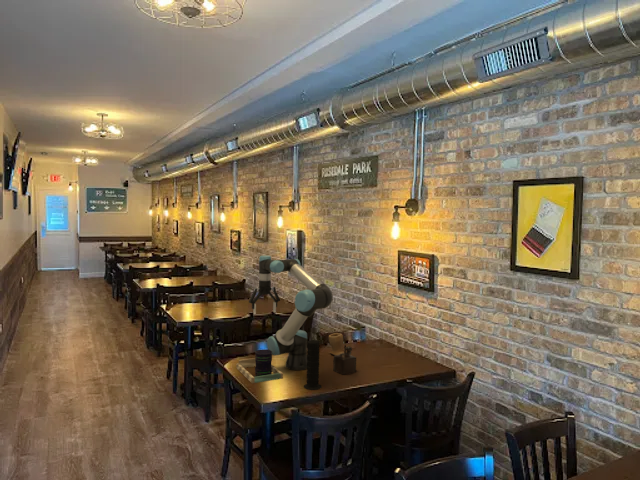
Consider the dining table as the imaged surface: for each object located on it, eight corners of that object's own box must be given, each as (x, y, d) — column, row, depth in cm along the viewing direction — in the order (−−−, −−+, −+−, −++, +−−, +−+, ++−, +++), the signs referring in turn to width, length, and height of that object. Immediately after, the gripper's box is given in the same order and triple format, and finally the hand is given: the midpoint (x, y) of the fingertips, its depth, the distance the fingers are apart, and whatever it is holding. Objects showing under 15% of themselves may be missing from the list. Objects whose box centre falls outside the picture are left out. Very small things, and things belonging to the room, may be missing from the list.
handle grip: (320, 383, 269) (303, 383, 268) (321, 337, 268) (303, 337, 267) (322, 390, 259) (304, 390, 258) (323, 342, 258) (304, 342, 257)
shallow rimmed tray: (236, 368, 293) (236, 360, 293) (265, 364, 302) (265, 356, 302) (252, 383, 268) (252, 374, 267) (283, 378, 276) (283, 370, 276)
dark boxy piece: (331, 370, 292) (332, 341, 291) (345, 367, 298) (346, 339, 297) (347, 377, 279) (348, 347, 278) (362, 374, 286) (362, 345, 285)
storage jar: (269, 373, 285) (269, 348, 284) (273, 378, 276) (274, 353, 275) (253, 374, 282) (253, 350, 281) (257, 380, 272) (257, 354, 272)
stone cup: (325, 353, 327) (325, 332, 326) (339, 351, 333) (340, 330, 332) (336, 359, 314) (337, 337, 313) (351, 357, 320) (352, 335, 319)
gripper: (280, 278, 309) (280, 310, 310) (244, 280, 298) (243, 313, 299) (285, 279, 302) (284, 312, 304) (248, 281, 291) (247, 315, 292)
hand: (264, 313), depth 301 cm, fingers open, 13 cm apart
